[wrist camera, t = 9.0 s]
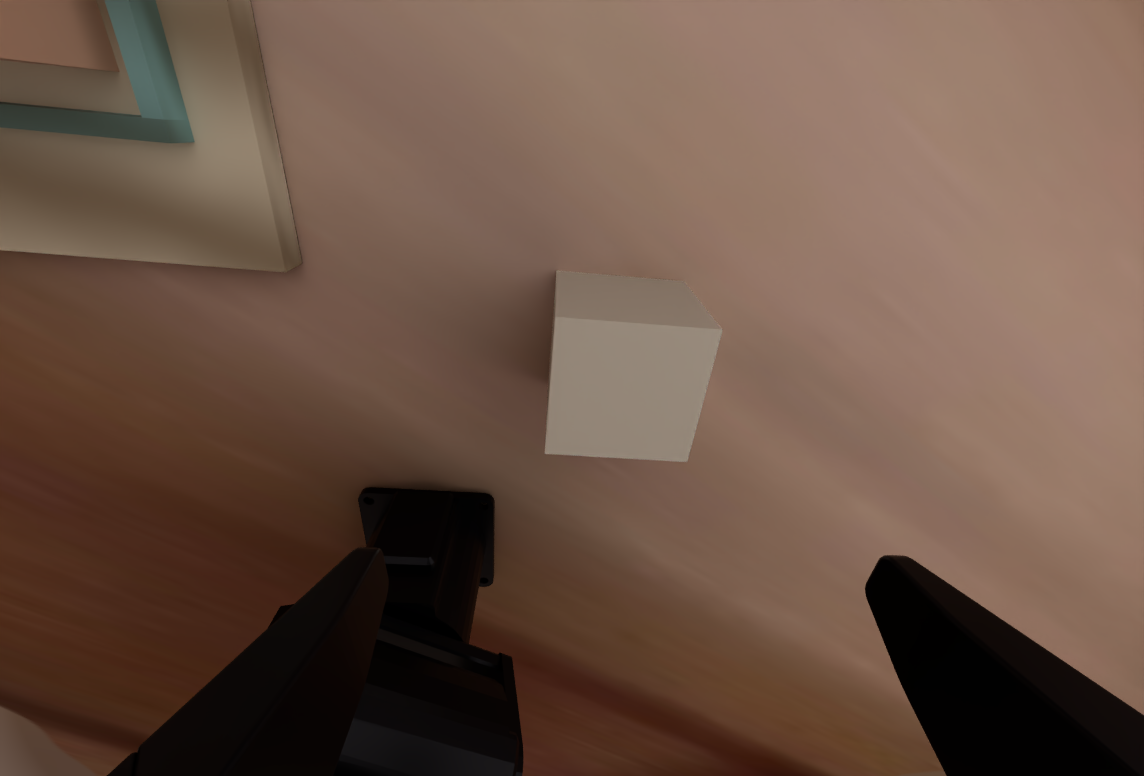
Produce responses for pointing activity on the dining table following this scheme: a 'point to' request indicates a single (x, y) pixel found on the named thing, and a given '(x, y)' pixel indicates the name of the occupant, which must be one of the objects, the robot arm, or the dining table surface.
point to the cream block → (627, 367)
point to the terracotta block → (55, 34)
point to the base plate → (149, 145)
